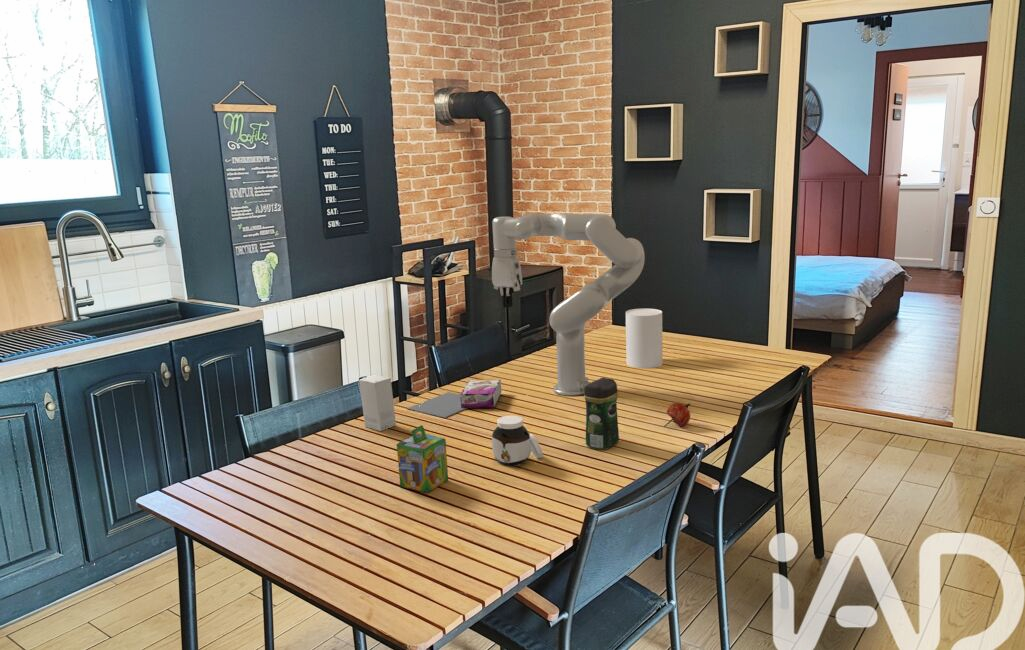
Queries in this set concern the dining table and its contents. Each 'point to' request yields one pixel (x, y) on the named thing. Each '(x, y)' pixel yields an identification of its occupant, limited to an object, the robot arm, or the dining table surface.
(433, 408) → the slate mat
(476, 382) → the candy bar box
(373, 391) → the skincare box
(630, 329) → the canister
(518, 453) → the spread jar
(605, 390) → the coffee jar
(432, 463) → the chalk box
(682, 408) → the pomegranate
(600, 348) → the dining table surface
